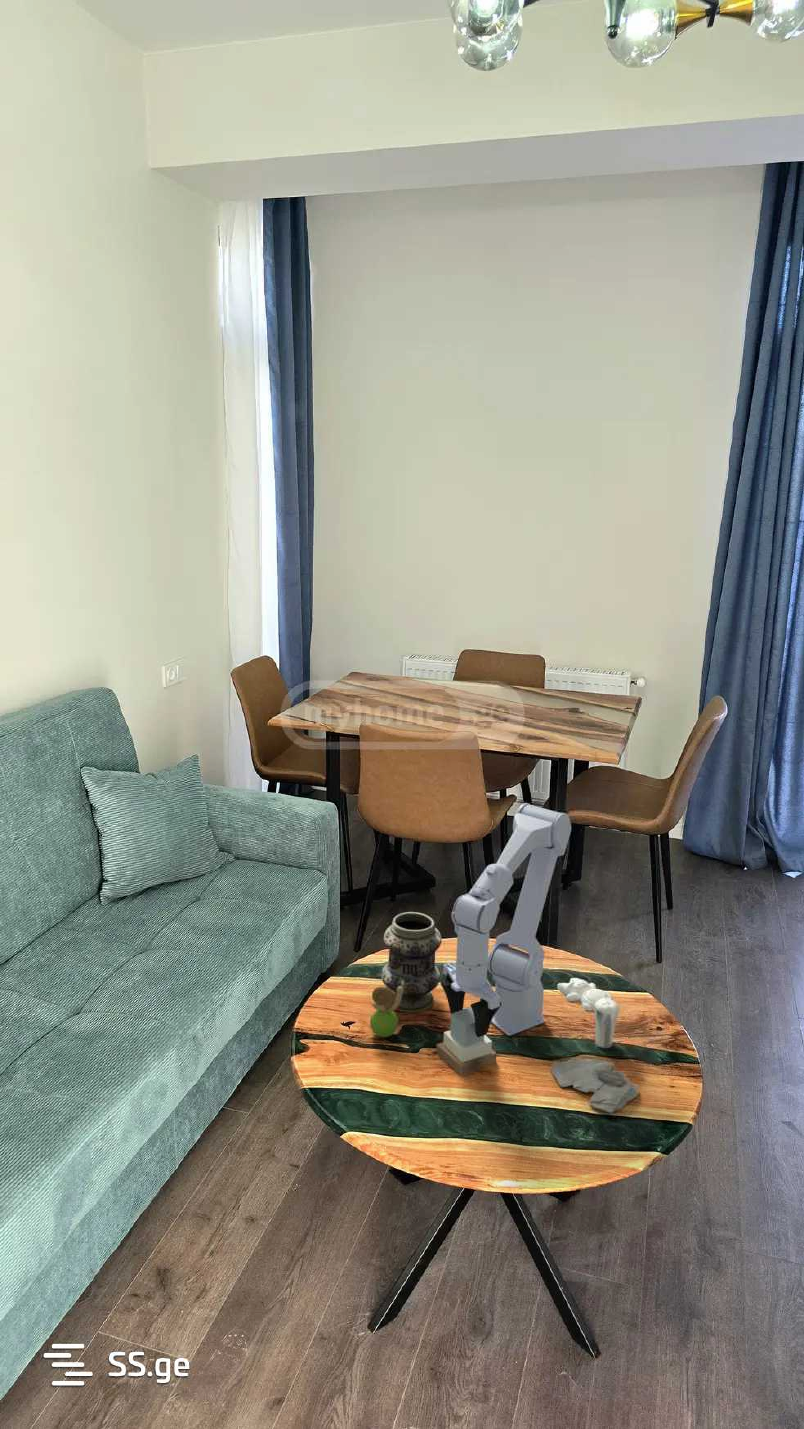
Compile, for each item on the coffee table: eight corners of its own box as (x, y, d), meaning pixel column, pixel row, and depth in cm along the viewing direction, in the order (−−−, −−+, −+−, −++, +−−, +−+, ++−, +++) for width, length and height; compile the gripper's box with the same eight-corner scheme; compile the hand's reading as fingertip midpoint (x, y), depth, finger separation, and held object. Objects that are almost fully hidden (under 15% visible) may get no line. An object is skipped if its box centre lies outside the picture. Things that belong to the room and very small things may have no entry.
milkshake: (584, 1037, 186) (588, 991, 183) (611, 1036, 186) (615, 991, 184) (591, 1051, 182) (595, 1004, 179) (618, 1050, 182) (622, 1004, 179)
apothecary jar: (451, 999, 198) (454, 920, 193) (413, 1023, 189) (415, 941, 184) (407, 978, 205) (409, 902, 201) (368, 1000, 197) (370, 921, 192)
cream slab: (472, 1035, 182) (473, 1023, 182) (491, 1053, 177) (492, 1041, 176) (443, 1044, 179) (443, 1032, 179) (461, 1062, 174) (462, 1050, 173)
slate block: (469, 1028, 180) (470, 1007, 179) (484, 1040, 176) (485, 1018, 175) (450, 1035, 178) (451, 1014, 177) (464, 1047, 174) (465, 1025, 173)
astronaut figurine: (580, 980, 208) (581, 967, 207) (621, 1005, 198) (622, 992, 197) (550, 990, 203) (551, 978, 202) (590, 1018, 193) (591, 1004, 192)
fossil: (649, 1091, 169) (649, 1080, 169) (609, 1123, 163) (608, 1110, 162) (577, 1053, 182) (576, 1041, 181) (537, 1080, 175) (536, 1069, 175)
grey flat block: (469, 1043, 184) (470, 1031, 183) (495, 1064, 178) (496, 1053, 177) (436, 1056, 180) (436, 1044, 179) (461, 1078, 173) (462, 1066, 173)
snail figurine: (399, 1045, 182) (401, 989, 179) (366, 1041, 183) (368, 985, 180) (405, 1029, 187) (407, 975, 184) (373, 1025, 188) (374, 970, 185)
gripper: (431, 947, 177) (428, 1012, 180) (479, 982, 165) (475, 1051, 169) (461, 938, 181) (458, 1001, 184) (510, 972, 169) (506, 1039, 173)
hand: (468, 1024), depth 177 cm, fingers open, 7 cm apart
